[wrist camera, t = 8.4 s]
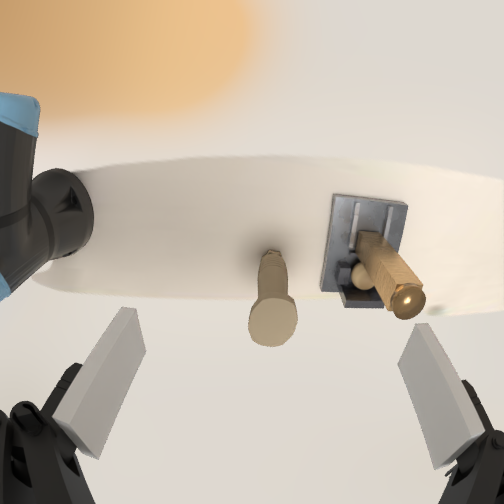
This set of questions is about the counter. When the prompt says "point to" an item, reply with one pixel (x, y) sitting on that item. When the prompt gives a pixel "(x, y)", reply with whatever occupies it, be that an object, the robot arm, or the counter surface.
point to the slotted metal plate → (345, 240)
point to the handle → (272, 304)
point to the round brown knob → (361, 277)
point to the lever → (390, 275)
